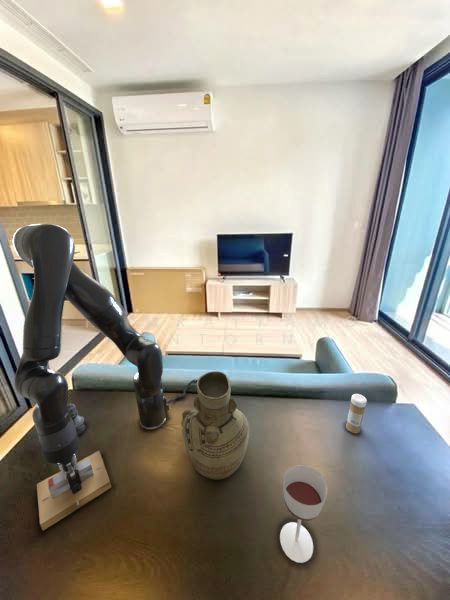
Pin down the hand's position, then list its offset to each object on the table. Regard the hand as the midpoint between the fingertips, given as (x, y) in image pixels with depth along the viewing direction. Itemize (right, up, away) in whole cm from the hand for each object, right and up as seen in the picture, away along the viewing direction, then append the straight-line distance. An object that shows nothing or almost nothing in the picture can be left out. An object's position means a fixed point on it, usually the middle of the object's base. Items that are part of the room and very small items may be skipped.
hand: (74, 482), depth 69 cm
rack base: (0, -2, +1) cm, 3 cm away
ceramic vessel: (+39, +1, +9) cm, 40 cm away
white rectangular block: (0, 0, 0) cm, 0 cm away
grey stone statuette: (-11, +4, +19) cm, 23 cm away
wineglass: (+59, -6, -10) cm, 60 cm away
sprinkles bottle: (+87, +5, +19) cm, 89 cm away
